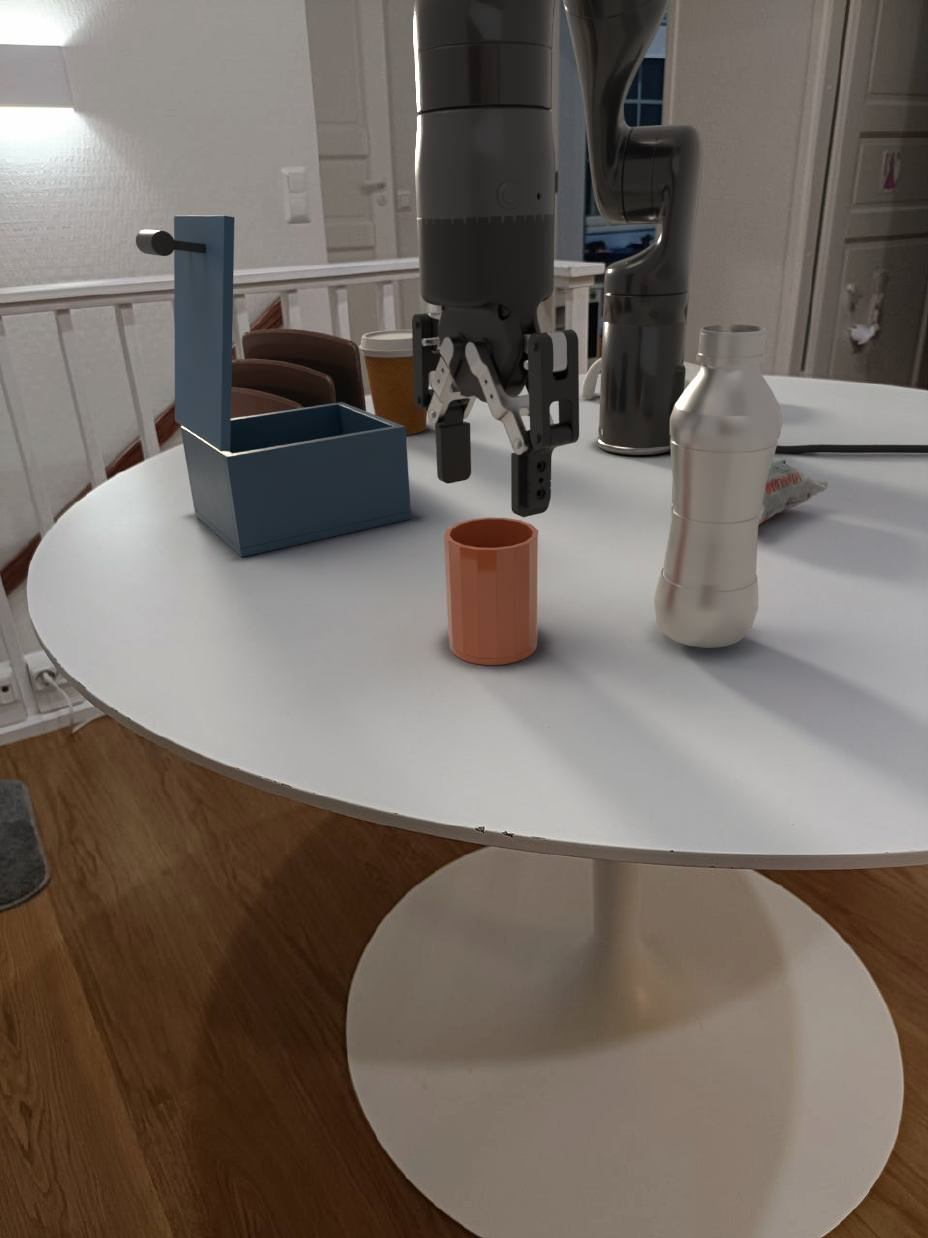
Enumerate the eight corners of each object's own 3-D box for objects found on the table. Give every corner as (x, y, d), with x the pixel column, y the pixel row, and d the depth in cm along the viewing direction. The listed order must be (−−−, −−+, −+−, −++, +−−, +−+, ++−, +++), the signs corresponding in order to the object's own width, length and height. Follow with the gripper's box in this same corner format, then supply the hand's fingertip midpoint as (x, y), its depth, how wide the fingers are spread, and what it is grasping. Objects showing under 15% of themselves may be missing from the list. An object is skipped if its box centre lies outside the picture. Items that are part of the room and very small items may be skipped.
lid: (183, 216, 76) (122, 208, 73) (234, 216, 65) (166, 206, 63) (183, 421, 82) (127, 420, 79) (230, 451, 71) (167, 451, 69)
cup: (539, 626, 62) (540, 518, 58) (534, 667, 56) (535, 550, 53) (456, 623, 62) (452, 516, 59) (443, 663, 57) (438, 548, 54)
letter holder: (260, 437, 114) (245, 323, 107) (372, 459, 102) (363, 333, 96) (196, 455, 106) (176, 333, 100) (310, 480, 95) (295, 346, 89)
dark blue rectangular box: (349, 485, 93) (342, 401, 90) (411, 519, 83) (405, 426, 79) (195, 515, 86) (179, 426, 82) (241, 557, 75) (226, 456, 71)
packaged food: (824, 511, 81) (831, 459, 79) (753, 544, 74) (759, 488, 72) (741, 493, 87) (745, 443, 85) (668, 522, 80) (672, 469, 78)
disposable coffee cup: (428, 439, 110) (423, 339, 105) (356, 437, 112) (347, 340, 107) (445, 421, 118) (441, 328, 113) (377, 420, 120) (370, 329, 115)
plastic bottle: (640, 620, 62) (659, 323, 53) (734, 614, 62) (767, 318, 54) (667, 663, 56) (693, 338, 48) (770, 656, 57) (814, 333, 48)
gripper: (625, 205, 44) (611, 514, 51) (473, 208, 55) (478, 461, 62) (501, 210, 41) (504, 541, 47) (365, 212, 52) (384, 480, 59)
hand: (489, 495), depth 55 cm, fingers open, 8 cm apart
